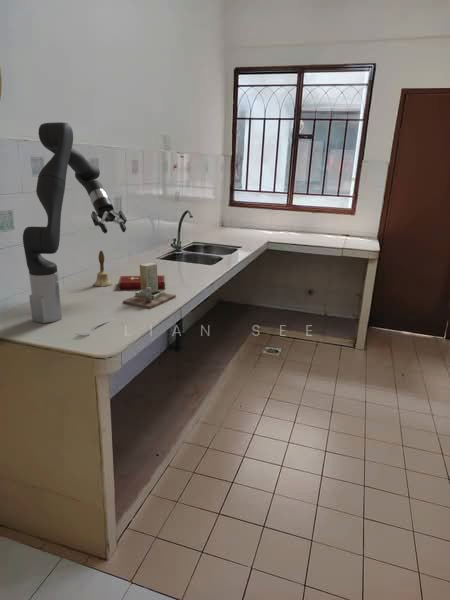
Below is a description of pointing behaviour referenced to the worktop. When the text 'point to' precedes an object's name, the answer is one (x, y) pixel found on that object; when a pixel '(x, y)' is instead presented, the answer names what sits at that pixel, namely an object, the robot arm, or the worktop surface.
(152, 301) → the pin board
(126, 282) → the hardcover book
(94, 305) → the worktop surface
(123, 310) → the worktop surface
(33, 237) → the robot arm
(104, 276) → the hand bell
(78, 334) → the fork
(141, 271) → the skincare box
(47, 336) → the worktop surface
